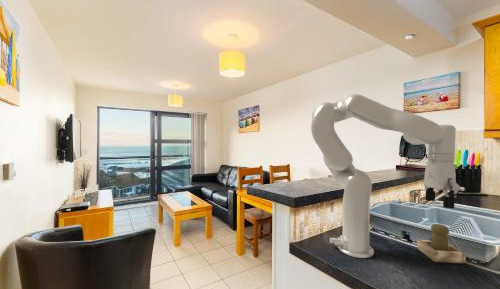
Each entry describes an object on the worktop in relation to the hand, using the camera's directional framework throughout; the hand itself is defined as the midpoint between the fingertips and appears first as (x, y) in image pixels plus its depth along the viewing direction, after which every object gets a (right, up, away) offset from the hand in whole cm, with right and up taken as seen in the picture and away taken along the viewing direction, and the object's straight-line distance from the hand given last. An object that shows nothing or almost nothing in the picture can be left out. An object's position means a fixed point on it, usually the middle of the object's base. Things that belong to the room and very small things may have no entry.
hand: (438, 204), depth 84 cm
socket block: (+1, -19, 0) cm, 19 cm away
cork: (0, -19, 0) cm, 19 cm away
